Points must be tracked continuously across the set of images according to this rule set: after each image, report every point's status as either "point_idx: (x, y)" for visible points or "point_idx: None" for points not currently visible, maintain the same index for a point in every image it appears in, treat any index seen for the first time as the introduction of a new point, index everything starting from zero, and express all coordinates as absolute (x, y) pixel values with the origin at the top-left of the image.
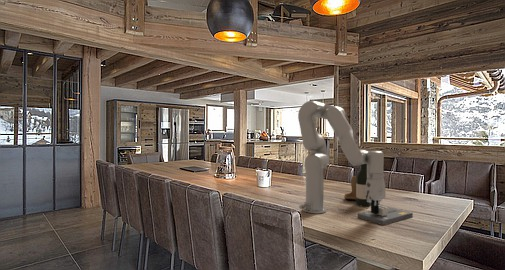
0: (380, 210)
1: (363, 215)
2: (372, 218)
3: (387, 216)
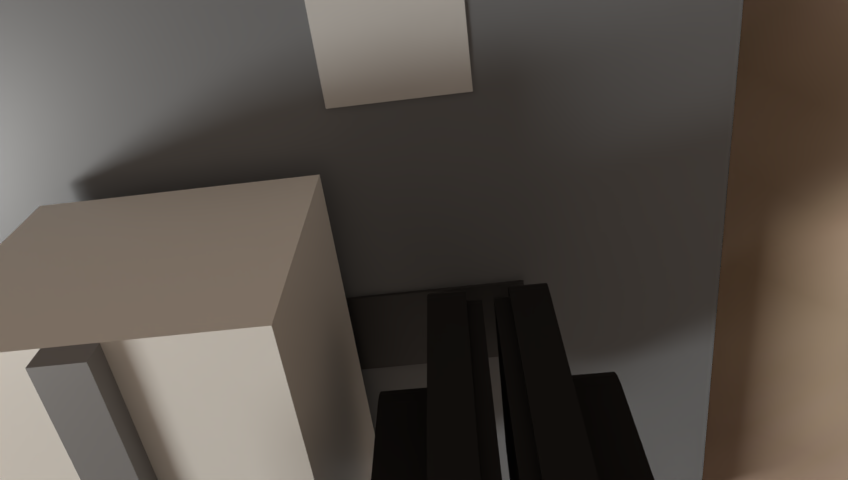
0: (312, 355)
1: (697, 461)
2: (714, 210)
3: (141, 115)
